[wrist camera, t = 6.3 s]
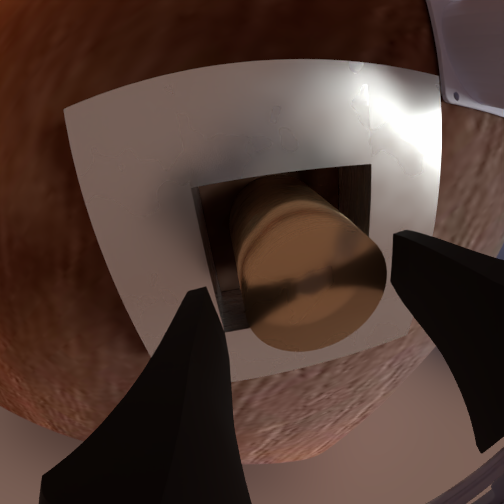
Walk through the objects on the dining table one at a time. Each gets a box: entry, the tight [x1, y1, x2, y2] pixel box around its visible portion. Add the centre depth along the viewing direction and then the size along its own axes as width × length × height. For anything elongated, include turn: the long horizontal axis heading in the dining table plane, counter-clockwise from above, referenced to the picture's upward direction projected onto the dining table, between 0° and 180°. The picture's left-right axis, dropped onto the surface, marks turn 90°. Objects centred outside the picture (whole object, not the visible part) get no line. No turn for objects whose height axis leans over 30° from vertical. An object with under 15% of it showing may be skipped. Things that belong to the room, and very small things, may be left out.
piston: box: [229, 175, 387, 352], centre depth 10 cm, size 4×4×6 cm
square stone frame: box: [63, 59, 442, 382], centre depth 12 cm, size 14×14×3 cm
